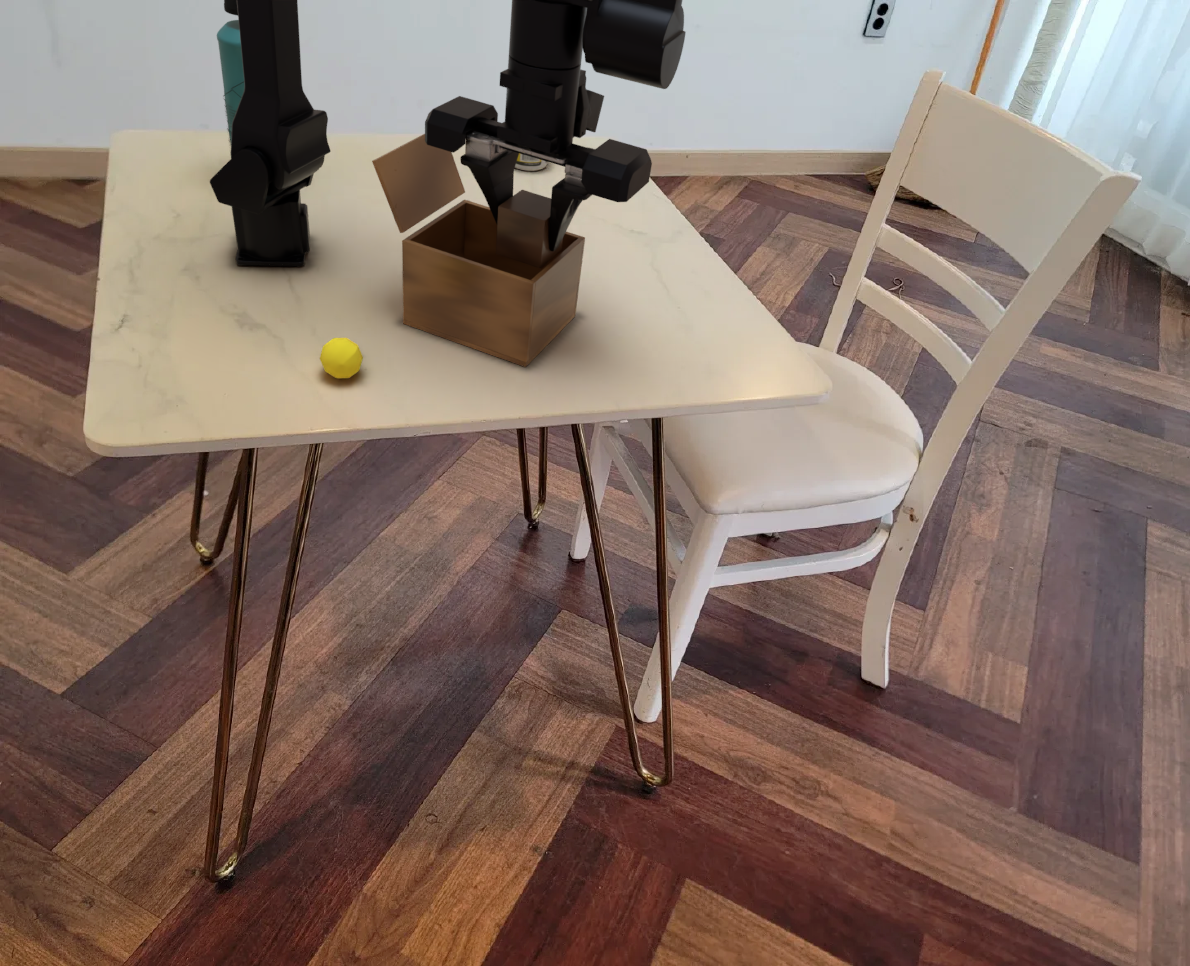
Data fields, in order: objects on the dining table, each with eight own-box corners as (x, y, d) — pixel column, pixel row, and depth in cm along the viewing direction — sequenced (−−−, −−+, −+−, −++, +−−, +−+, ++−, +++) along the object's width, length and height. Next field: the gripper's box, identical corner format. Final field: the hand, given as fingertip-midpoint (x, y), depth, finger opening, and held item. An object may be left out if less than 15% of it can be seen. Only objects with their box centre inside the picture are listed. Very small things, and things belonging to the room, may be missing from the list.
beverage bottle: (221, 177, 104) (193, -16, 91) (266, 162, 108) (245, -23, 95) (262, 195, 101) (239, 0, 89) (306, 179, 106) (290, -8, 93)
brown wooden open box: (403, 323, 85) (401, 240, 80) (461, 277, 93) (464, 199, 88) (525, 367, 82) (533, 283, 77) (575, 316, 90) (585, 237, 85)
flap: (403, 232, 79) (399, 233, 79) (465, 192, 87) (462, 193, 87) (375, 160, 76) (371, 161, 76) (442, 125, 84) (438, 125, 84)
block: (495, 253, 80) (498, 206, 78) (518, 235, 84) (521, 189, 81) (540, 268, 79) (544, 220, 77) (562, 249, 83) (567, 203, 80)
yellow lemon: (330, 390, 76) (313, 351, 74) (329, 368, 81) (314, 331, 79) (369, 376, 76) (353, 338, 74) (366, 355, 81) (351, 319, 80)
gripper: (688, 64, 74) (656, 239, 85) (489, 12, 79) (482, 185, 89) (640, 97, 66) (611, 286, 77) (421, 38, 71) (421, 224, 81)
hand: (529, 241), depth 81 cm, fingers closed on block, 4 cm apart
